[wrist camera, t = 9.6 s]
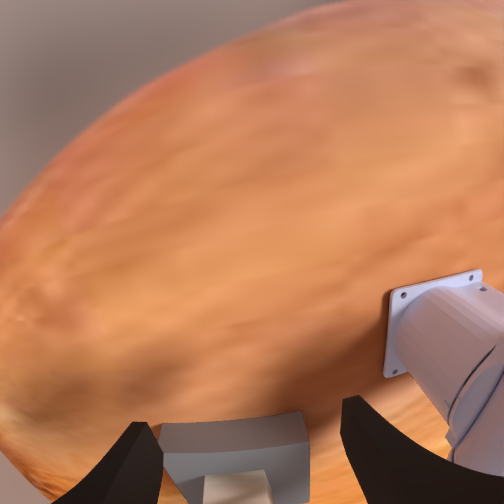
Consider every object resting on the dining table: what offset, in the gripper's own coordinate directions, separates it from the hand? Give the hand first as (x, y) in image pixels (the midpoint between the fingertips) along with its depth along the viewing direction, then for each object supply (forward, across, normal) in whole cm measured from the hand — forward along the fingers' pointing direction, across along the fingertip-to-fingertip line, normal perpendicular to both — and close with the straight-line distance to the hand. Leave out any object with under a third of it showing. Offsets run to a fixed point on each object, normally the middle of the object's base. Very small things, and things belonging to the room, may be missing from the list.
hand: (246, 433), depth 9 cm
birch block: (+7, +2, +16) cm, 18 cm away
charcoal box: (+11, +2, +16) cm, 20 cm away
